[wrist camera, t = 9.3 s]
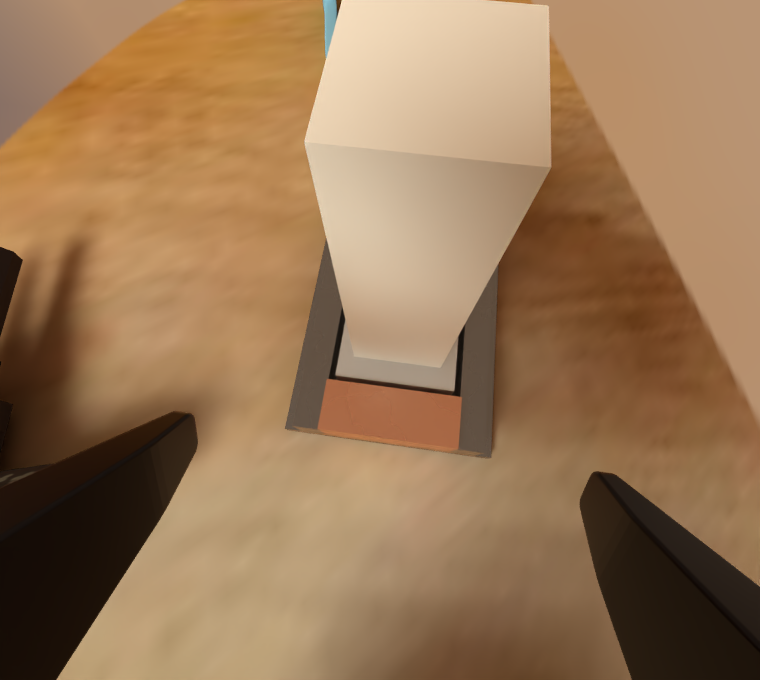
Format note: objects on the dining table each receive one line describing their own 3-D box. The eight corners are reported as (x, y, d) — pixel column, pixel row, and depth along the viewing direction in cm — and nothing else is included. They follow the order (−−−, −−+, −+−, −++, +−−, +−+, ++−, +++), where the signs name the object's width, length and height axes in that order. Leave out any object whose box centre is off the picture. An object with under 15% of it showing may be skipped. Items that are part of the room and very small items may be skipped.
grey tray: (487, 458, 19) (506, 455, 16) (287, 429, 19) (271, 422, 16) (499, 169, 25) (514, 130, 22) (347, 153, 25) (342, 112, 22)
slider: (446, 399, 19) (600, 225, 6) (339, 385, 19) (247, 185, 6) (455, 291, 21) (583, -24, 8) (358, 280, 21) (319, -45, 8)
